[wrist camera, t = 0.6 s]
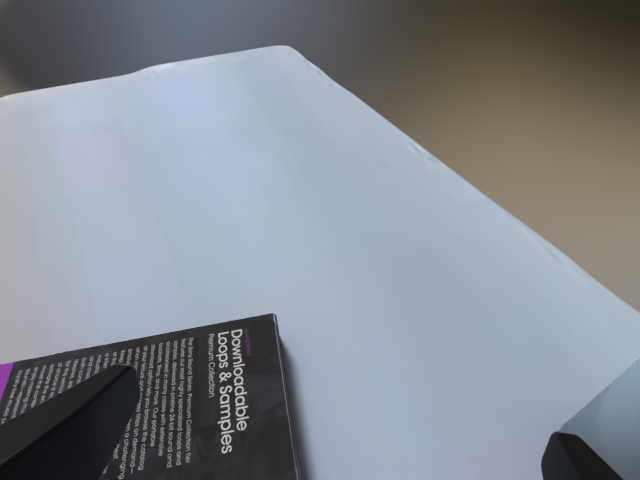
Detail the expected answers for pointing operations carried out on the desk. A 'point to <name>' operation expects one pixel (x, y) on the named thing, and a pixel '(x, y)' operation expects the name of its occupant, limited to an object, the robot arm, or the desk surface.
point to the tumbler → (613, 424)
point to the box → (183, 401)
